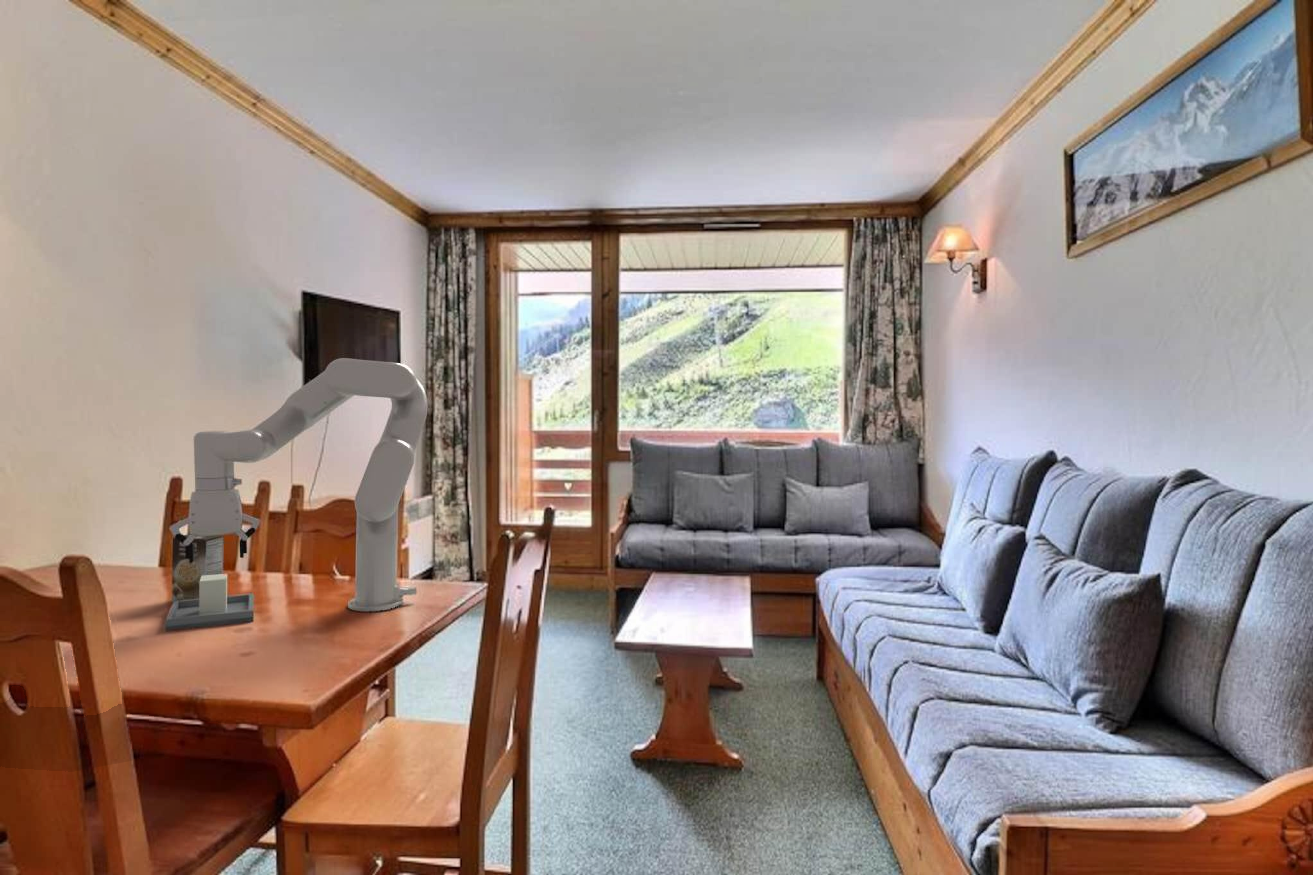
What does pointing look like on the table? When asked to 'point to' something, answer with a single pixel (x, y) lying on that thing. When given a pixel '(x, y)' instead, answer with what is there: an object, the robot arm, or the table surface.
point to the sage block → (213, 594)
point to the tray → (188, 616)
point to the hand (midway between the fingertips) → (217, 559)
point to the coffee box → (195, 565)
